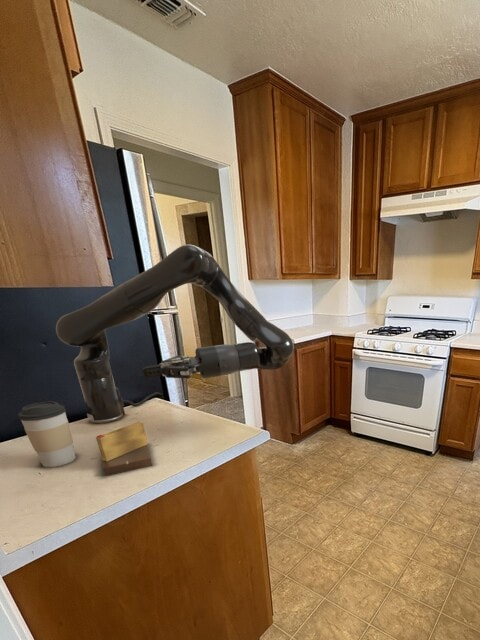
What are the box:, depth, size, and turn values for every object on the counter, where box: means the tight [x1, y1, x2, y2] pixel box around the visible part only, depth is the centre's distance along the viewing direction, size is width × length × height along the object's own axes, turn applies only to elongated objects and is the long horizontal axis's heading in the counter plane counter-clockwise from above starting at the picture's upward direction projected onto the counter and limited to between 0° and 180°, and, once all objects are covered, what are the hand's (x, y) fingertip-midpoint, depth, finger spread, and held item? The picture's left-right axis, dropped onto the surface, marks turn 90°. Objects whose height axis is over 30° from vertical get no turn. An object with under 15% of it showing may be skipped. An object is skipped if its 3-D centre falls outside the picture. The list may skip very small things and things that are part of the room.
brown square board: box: [90, 444, 160, 477], centre depth 89 cm, size 15×15×2 cm
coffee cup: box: [17, 401, 76, 468], centre depth 86 cm, size 9×9×15 cm
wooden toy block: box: [95, 421, 148, 461], centre depth 87 cm, size 11×2×6 cm, turn 152°
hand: (143, 372), depth 82 cm, fingers closed
